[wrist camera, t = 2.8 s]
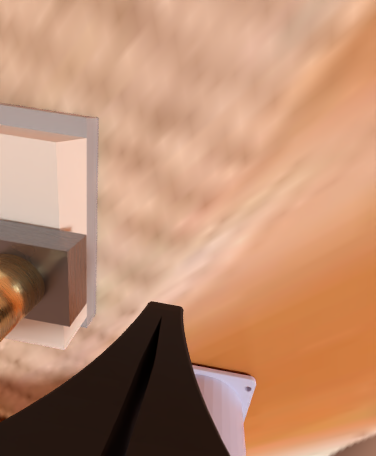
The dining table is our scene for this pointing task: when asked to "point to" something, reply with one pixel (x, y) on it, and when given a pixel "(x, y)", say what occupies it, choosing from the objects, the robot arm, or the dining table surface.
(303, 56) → the dining table surface
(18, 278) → the bolt
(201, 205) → the dining table surface
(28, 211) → the plate
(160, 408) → the robot arm
